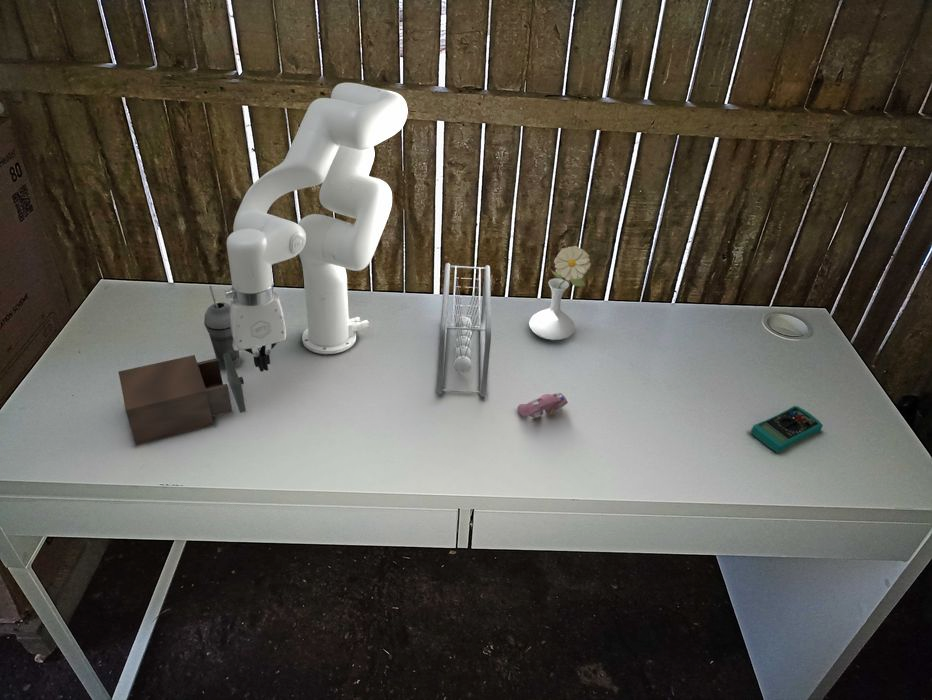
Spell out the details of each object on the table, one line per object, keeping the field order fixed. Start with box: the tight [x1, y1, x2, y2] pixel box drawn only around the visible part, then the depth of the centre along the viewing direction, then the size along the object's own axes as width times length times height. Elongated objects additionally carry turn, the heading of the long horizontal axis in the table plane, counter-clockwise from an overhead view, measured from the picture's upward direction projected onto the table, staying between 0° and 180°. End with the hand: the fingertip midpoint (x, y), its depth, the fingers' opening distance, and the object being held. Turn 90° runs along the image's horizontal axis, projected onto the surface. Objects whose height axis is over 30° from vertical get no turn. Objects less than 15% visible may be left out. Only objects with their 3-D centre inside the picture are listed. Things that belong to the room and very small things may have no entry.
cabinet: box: [118, 354, 214, 446], centre depth 144 cm, size 15×13×9 cm
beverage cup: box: [203, 285, 241, 370], centre depth 155 cm, size 7×7×20 cm
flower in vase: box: [528, 245, 591, 341], centre depth 171 cm, size 13×11×25 cm
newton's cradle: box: [436, 262, 492, 398], centre depth 163 cm, size 30×10×18 cm, turn 179°
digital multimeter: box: [750, 405, 824, 454], centre depth 152 cm, size 7×15×3 cm, turn 122°
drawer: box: [197, 353, 247, 417], centre depth 147 cm, size 15×11×7 cm
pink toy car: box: [517, 392, 569, 419], centre depth 152 cm, size 10×5×7 cm, turn 117°
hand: (262, 367), depth 150 cm, fingers closed
